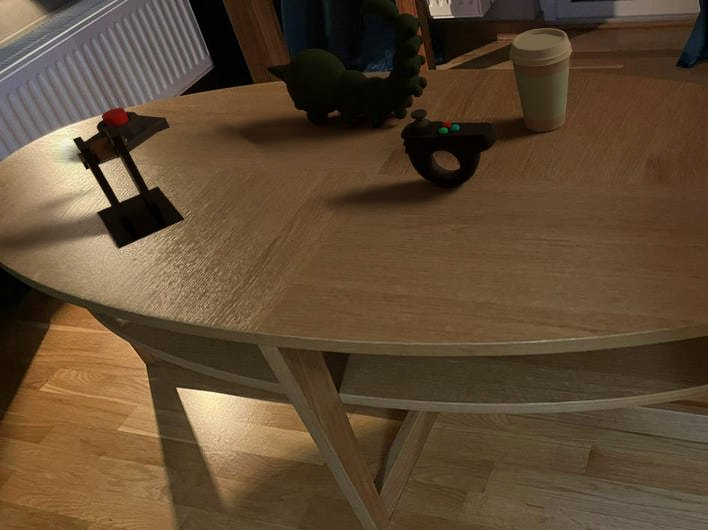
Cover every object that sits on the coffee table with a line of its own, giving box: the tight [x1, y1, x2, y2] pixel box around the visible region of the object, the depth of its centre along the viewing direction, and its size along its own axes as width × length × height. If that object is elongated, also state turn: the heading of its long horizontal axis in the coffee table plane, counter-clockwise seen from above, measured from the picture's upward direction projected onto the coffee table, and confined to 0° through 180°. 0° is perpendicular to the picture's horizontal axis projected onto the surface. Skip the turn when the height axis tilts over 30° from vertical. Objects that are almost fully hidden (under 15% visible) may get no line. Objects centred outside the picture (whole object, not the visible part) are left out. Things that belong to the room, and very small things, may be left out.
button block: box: [84, 111, 171, 154], centre depth 115 cm, size 11×9×4 cm
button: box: [101, 107, 129, 127], centre depth 113 cm, size 4×4×2 cm
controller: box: [400, 108, 498, 188], centre depth 90 cm, size 4×12×10 cm, turn 76°
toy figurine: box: [266, 0, 428, 128], centre depth 105 cm, size 9×19×25 cm
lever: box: [82, 137, 120, 170], centre depth 94 cm, size 13×6×2 cm, turn 36°
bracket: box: [72, 125, 185, 249], centre depth 93 cm, size 12×9×13 cm
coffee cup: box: [508, 27, 573, 133], centre depth 98 cm, size 8×8×12 cm
